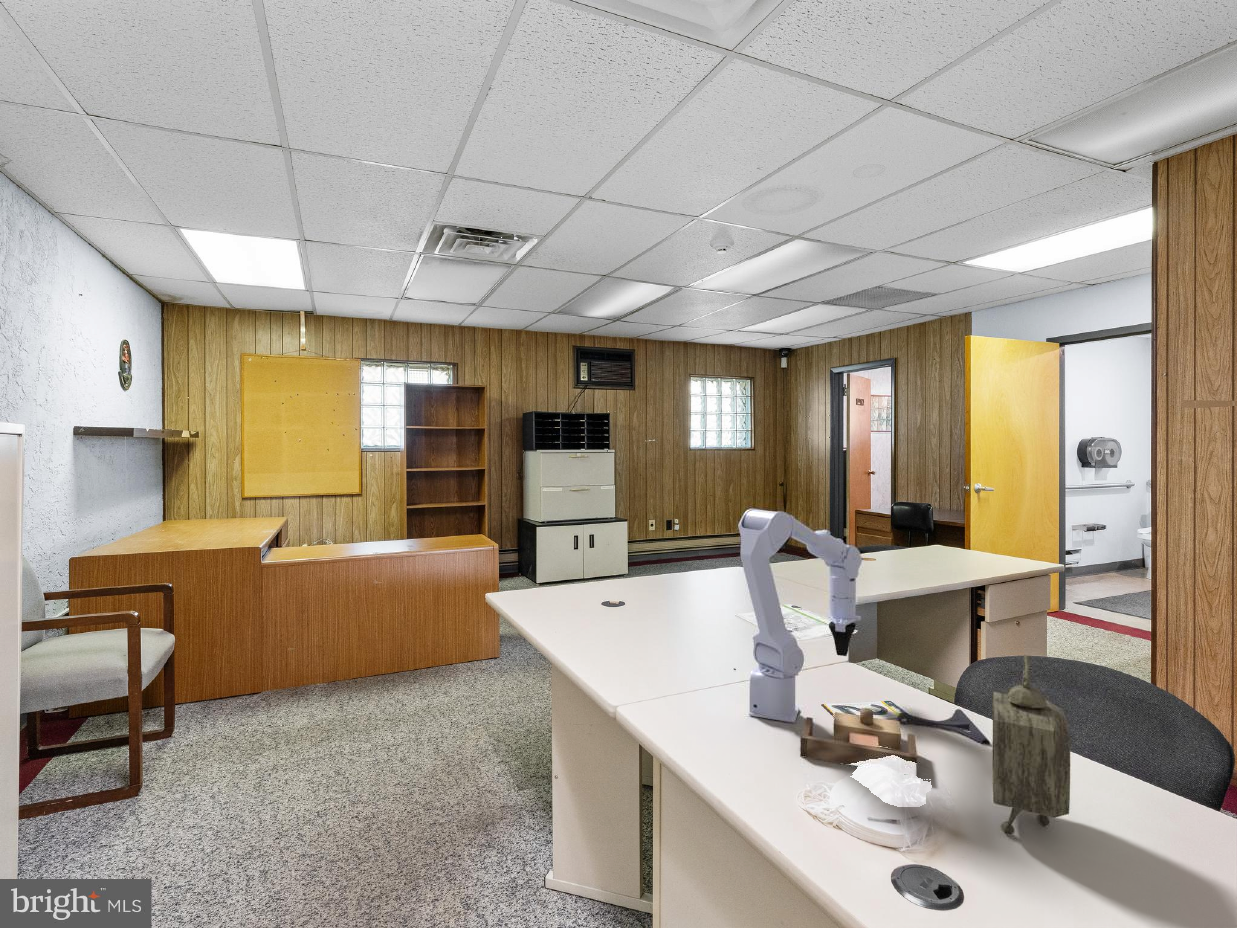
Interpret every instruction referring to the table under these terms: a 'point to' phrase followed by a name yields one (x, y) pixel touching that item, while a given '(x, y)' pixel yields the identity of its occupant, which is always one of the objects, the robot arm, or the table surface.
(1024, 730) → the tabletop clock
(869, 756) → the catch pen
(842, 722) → the wooden box with knob
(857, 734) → the tile
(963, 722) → the bracket
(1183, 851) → the table surface
